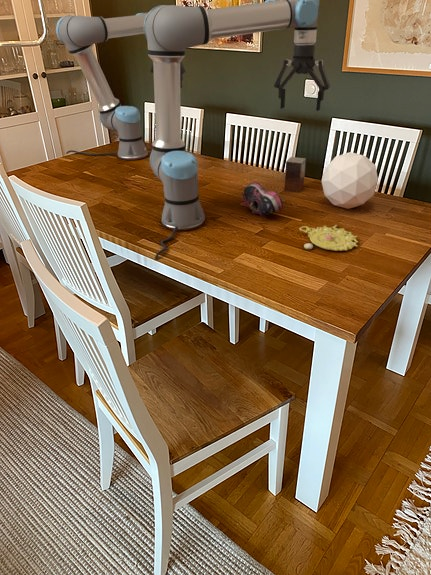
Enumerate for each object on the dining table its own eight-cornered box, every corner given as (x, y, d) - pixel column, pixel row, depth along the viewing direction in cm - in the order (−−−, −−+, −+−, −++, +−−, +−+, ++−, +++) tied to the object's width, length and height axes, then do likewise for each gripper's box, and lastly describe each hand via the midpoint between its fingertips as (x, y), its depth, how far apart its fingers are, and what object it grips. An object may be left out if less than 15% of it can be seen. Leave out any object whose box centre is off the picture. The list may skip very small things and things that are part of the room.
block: (288, 185, 185) (290, 156, 179) (303, 186, 183) (305, 158, 176) (284, 190, 180) (286, 161, 174) (299, 192, 178) (301, 163, 171)
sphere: (353, 227, 164) (368, 198, 145) (307, 200, 169) (316, 169, 150) (378, 190, 169) (396, 158, 150) (333, 165, 174) (345, 131, 155)
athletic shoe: (254, 181, 170) (227, 189, 167) (283, 176, 151) (253, 185, 147) (260, 210, 173) (234, 218, 170) (290, 209, 154) (261, 219, 150)
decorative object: (343, 255, 128) (285, 234, 139) (342, 262, 130) (284, 241, 140) (372, 230, 142) (317, 213, 152) (371, 237, 143) (316, 219, 153)
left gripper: (141, 43, 230) (145, 87, 241) (183, 43, 220) (186, 89, 232) (148, 42, 235) (153, 85, 247) (190, 42, 226) (192, 87, 238)
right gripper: (266, 44, 155) (264, 108, 166) (338, 45, 146) (331, 112, 157) (273, 43, 161) (271, 105, 172) (343, 43, 152) (335, 108, 163)
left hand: (169, 87), depth 239 cm, fingers open, 13 cm apart
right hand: (300, 109), depth 165 cm, fingers open, 13 cm apart
